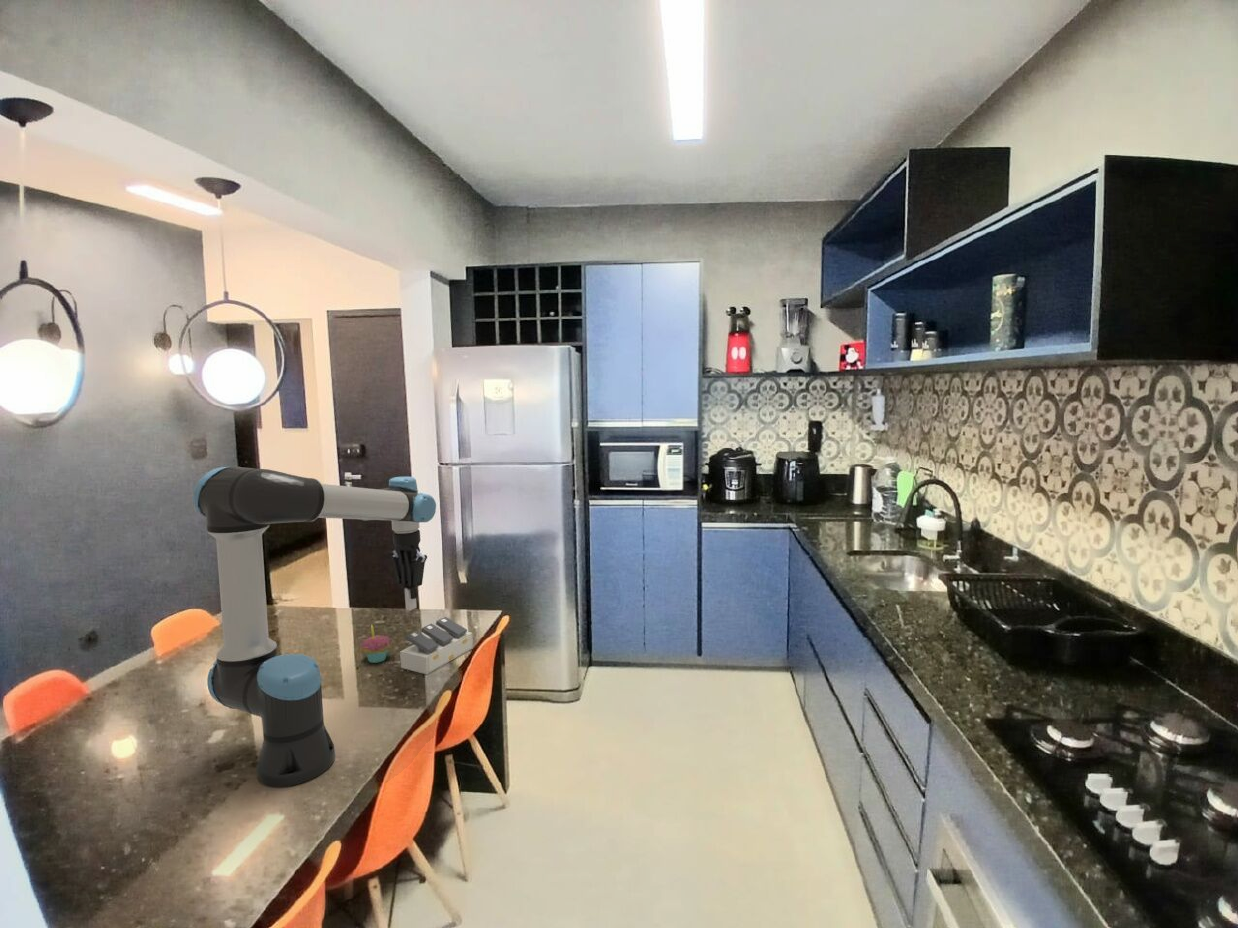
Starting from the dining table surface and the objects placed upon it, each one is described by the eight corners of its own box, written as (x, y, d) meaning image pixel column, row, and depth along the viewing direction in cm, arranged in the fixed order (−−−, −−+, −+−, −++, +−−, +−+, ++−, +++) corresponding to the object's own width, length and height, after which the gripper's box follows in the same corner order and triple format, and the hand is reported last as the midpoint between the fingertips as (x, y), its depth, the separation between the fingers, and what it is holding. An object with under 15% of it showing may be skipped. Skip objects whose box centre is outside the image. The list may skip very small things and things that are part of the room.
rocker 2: (443, 645, 186) (443, 641, 186) (421, 631, 190) (421, 627, 189) (452, 640, 190) (453, 636, 189) (430, 626, 193) (431, 623, 193)
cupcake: (385, 665, 186) (382, 626, 184) (356, 665, 186) (354, 626, 184) (396, 653, 194) (393, 615, 193) (368, 653, 194) (366, 616, 193)
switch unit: (427, 674, 179) (426, 653, 179) (401, 667, 184) (399, 646, 183) (473, 648, 197) (473, 628, 196) (448, 642, 202) (447, 623, 201)
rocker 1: (427, 653, 181) (428, 649, 180) (405, 638, 184) (406, 635, 184) (437, 647, 184) (438, 644, 184) (415, 633, 188) (416, 630, 187)
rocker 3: (457, 637, 192) (458, 633, 191) (435, 624, 195) (436, 620, 195) (466, 632, 195) (467, 629, 195) (444, 619, 199) (445, 616, 198)
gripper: (432, 529, 182) (437, 607, 185) (399, 525, 188) (404, 601, 191) (413, 535, 175) (418, 616, 179) (379, 531, 181) (385, 609, 185)
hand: (411, 608), depth 185 cm, fingers closed
